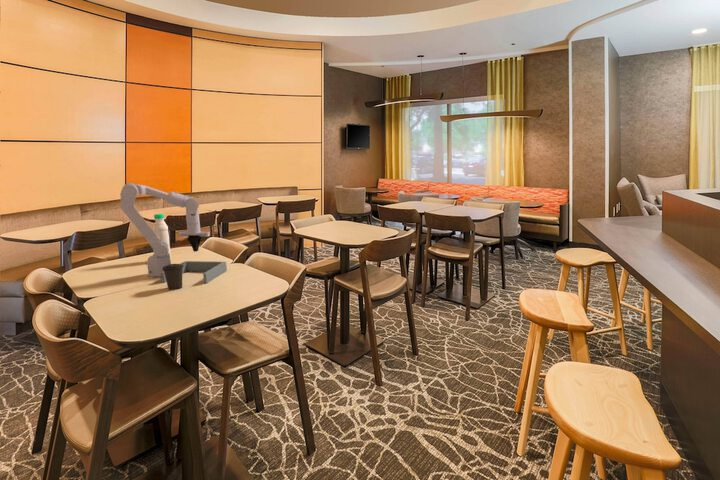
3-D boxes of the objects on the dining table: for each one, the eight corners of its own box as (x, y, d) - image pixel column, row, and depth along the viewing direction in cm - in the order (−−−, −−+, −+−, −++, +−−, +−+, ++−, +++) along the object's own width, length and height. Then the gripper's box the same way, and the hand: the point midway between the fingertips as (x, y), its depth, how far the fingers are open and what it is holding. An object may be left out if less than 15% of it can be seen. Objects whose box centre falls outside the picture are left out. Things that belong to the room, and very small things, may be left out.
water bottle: (160, 259, 218) (154, 213, 213) (173, 258, 219) (168, 212, 213) (154, 262, 211) (149, 215, 206) (168, 262, 212) (163, 214, 207)
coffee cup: (190, 286, 171) (187, 263, 169) (175, 292, 164) (172, 268, 162) (175, 284, 174) (173, 261, 172) (160, 289, 167) (157, 266, 165)
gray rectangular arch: (162, 282, 176) (161, 272, 176) (186, 269, 196) (185, 261, 195) (206, 283, 174) (205, 273, 173) (226, 270, 194) (226, 261, 193)
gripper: (211, 221, 194) (214, 249, 197) (183, 221, 196) (186, 249, 199) (204, 224, 187) (207, 252, 190) (175, 224, 189) (178, 252, 192)
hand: (196, 251), depth 194 cm, fingers closed
